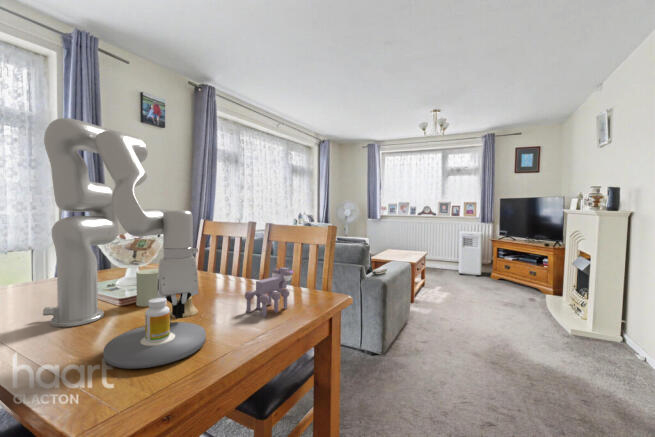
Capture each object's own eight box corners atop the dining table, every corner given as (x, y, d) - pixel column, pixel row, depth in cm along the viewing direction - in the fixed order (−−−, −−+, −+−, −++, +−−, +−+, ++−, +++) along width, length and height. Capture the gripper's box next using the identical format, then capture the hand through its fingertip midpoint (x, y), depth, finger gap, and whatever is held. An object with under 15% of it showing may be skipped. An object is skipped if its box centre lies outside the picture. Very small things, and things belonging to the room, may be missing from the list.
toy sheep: (282, 297, 120) (284, 263, 119) (303, 304, 114) (305, 268, 113) (241, 311, 103) (243, 272, 103) (263, 320, 97) (265, 278, 96)
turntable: (87, 375, 62) (86, 348, 62) (120, 332, 83) (120, 312, 83) (203, 359, 70) (203, 335, 69) (207, 323, 91) (207, 305, 90)
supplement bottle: (174, 335, 78) (174, 298, 78) (156, 344, 73) (156, 304, 73) (158, 332, 80) (158, 295, 79) (140, 340, 75) (139, 301, 74)
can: (144, 308, 105) (144, 273, 104) (130, 303, 110) (130, 270, 109) (170, 301, 113) (170, 269, 112) (156, 297, 117) (156, 266, 117)
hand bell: (187, 319, 96) (187, 268, 95) (164, 316, 98) (164, 267, 97) (203, 310, 104) (203, 263, 103) (181, 308, 106) (181, 262, 105)
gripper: (201, 249, 95) (201, 308, 95) (146, 253, 85) (146, 318, 86) (209, 253, 89) (209, 315, 89) (150, 257, 79) (150, 327, 80)
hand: (178, 316), depth 88 cm, fingers closed
